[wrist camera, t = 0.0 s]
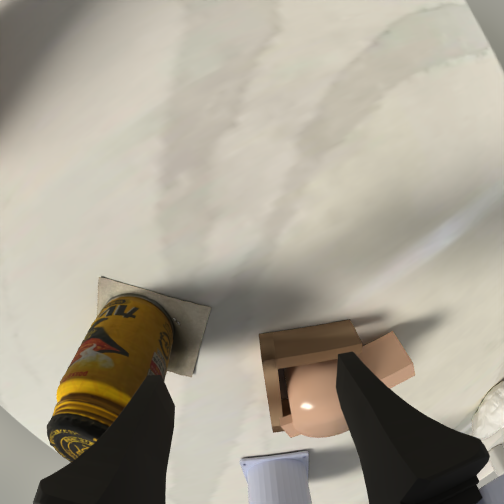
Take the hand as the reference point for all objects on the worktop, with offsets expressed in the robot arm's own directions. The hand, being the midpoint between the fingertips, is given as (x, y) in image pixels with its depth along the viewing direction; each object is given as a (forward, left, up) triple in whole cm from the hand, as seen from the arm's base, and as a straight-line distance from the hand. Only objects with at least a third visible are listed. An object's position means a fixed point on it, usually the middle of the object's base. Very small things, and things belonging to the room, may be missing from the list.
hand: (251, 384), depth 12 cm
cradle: (-10, -4, -10) cm, 15 cm away
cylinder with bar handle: (-9, -6, -10) cm, 15 cm away
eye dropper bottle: (-54, -48, -10) cm, 73 cm away
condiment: (-4, +8, -10) cm, 14 cm away
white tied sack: (-25, -32, -10) cm, 42 cm away
